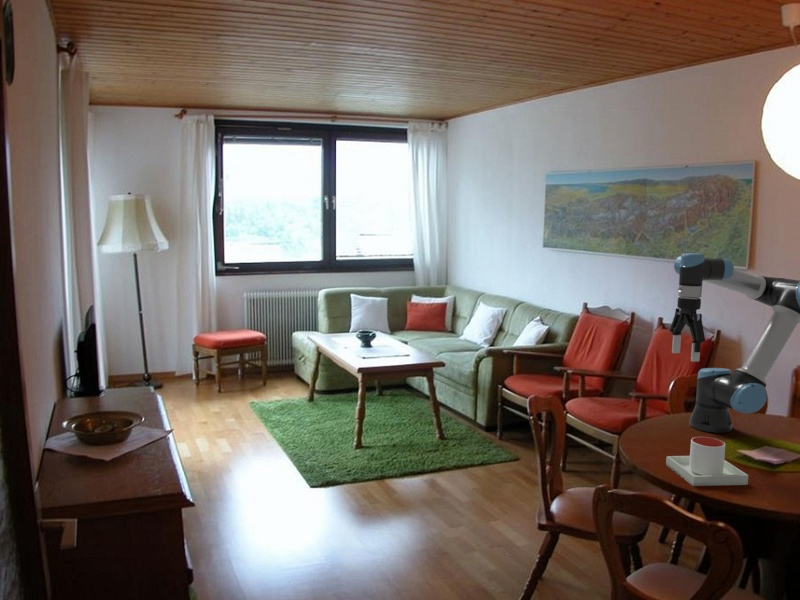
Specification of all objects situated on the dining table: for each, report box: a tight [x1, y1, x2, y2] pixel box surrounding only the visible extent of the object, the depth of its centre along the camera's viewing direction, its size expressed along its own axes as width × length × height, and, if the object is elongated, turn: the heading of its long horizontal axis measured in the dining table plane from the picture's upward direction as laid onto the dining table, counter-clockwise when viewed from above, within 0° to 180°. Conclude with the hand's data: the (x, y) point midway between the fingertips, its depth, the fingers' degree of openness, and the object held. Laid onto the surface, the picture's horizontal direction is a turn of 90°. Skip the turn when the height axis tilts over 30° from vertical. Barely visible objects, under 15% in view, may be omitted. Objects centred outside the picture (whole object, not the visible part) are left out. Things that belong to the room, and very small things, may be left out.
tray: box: [665, 455, 749, 487], centre depth 226 cm, size 18×18×3 cm
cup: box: [689, 436, 726, 476], centre depth 226 cm, size 10×10×10 cm
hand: (685, 357), depth 251 cm, fingers open, 13 cm apart
